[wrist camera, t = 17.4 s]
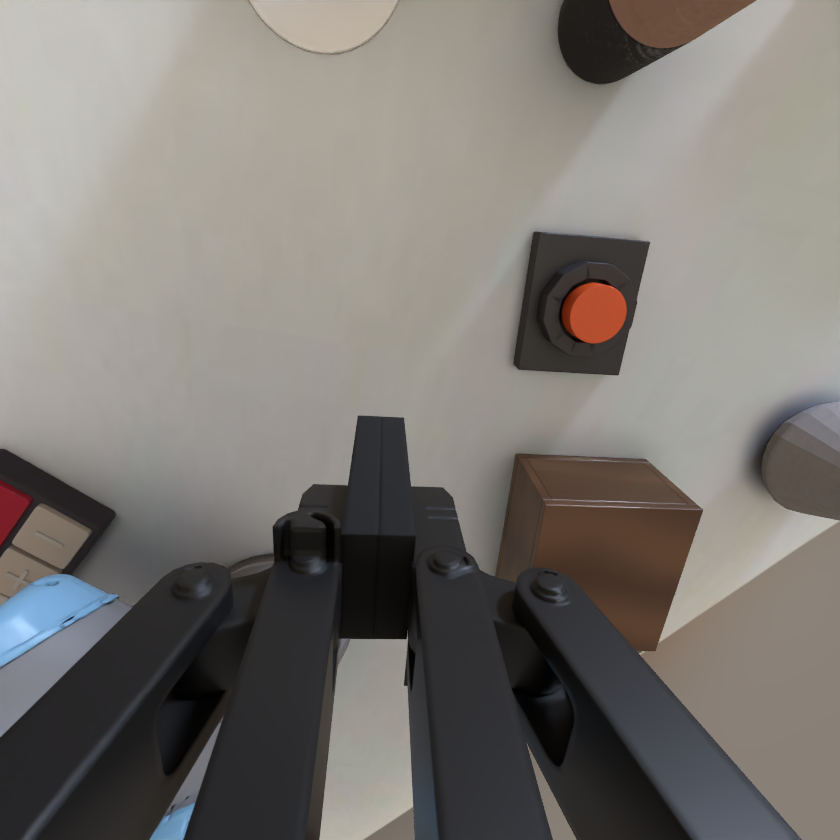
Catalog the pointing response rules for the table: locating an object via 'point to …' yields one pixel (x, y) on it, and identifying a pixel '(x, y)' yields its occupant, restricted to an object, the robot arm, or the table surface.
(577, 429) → the table surface
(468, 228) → the table surface
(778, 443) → the coffee pot
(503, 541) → the cabinet
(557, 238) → the button housing
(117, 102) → the table surface
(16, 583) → the calculator
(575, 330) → the button
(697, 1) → the travel mug
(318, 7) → the panda figurine
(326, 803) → the table surface
